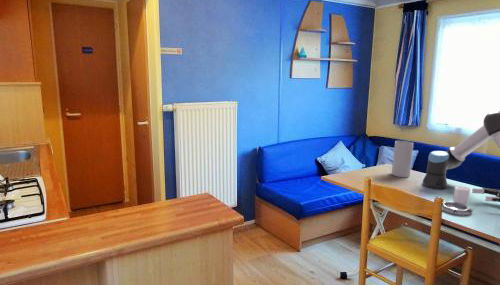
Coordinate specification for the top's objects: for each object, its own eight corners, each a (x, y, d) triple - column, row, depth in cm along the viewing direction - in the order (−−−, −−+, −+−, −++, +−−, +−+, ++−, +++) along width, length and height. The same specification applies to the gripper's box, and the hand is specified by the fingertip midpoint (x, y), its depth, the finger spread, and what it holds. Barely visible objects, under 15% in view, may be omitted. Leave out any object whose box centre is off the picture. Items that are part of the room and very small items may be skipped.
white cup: (467, 207, 206) (470, 191, 204) (451, 204, 210) (454, 188, 208) (467, 203, 213) (470, 187, 211) (452, 200, 217) (455, 184, 215)
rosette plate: (433, 208, 203) (433, 204, 202) (447, 203, 212) (447, 198, 212) (463, 218, 190) (464, 213, 190) (476, 212, 200) (477, 207, 199)
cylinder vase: (413, 177, 263) (417, 144, 258) (398, 178, 260) (402, 144, 255) (402, 172, 275) (406, 140, 270) (388, 173, 272) (391, 140, 267)
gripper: (530, 210, 197) (490, 208, 198) (502, 195, 221) (466, 193, 222) (533, 197, 195) (493, 195, 196) (504, 183, 220) (468, 182, 221)
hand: (479, 194), depth 209 cm, fingers open, 13 cm apart
